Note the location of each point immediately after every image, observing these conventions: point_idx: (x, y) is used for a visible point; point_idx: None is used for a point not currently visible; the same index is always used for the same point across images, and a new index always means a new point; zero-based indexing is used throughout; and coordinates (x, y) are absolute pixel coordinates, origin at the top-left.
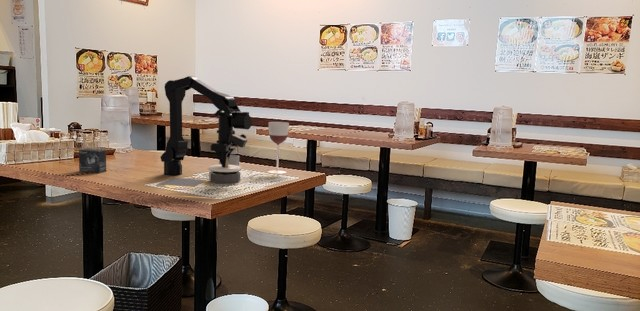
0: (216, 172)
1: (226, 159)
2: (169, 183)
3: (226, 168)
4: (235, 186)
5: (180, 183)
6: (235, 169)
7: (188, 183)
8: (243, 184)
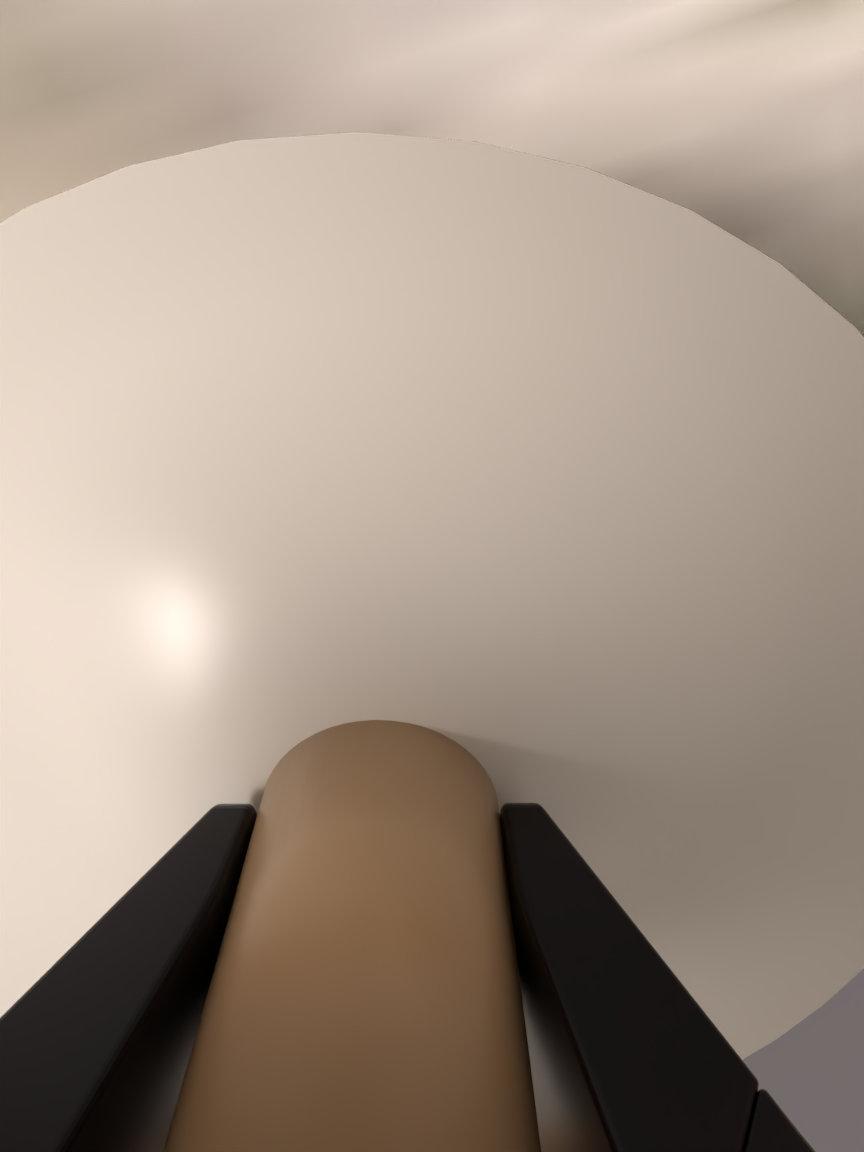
0: None
1: (607, 1066)
2: (852, 1149)
3: (699, 691)
4: (853, 175)
5: (834, 1066)
6: (807, 295)
7: None
8: (531, 21)
